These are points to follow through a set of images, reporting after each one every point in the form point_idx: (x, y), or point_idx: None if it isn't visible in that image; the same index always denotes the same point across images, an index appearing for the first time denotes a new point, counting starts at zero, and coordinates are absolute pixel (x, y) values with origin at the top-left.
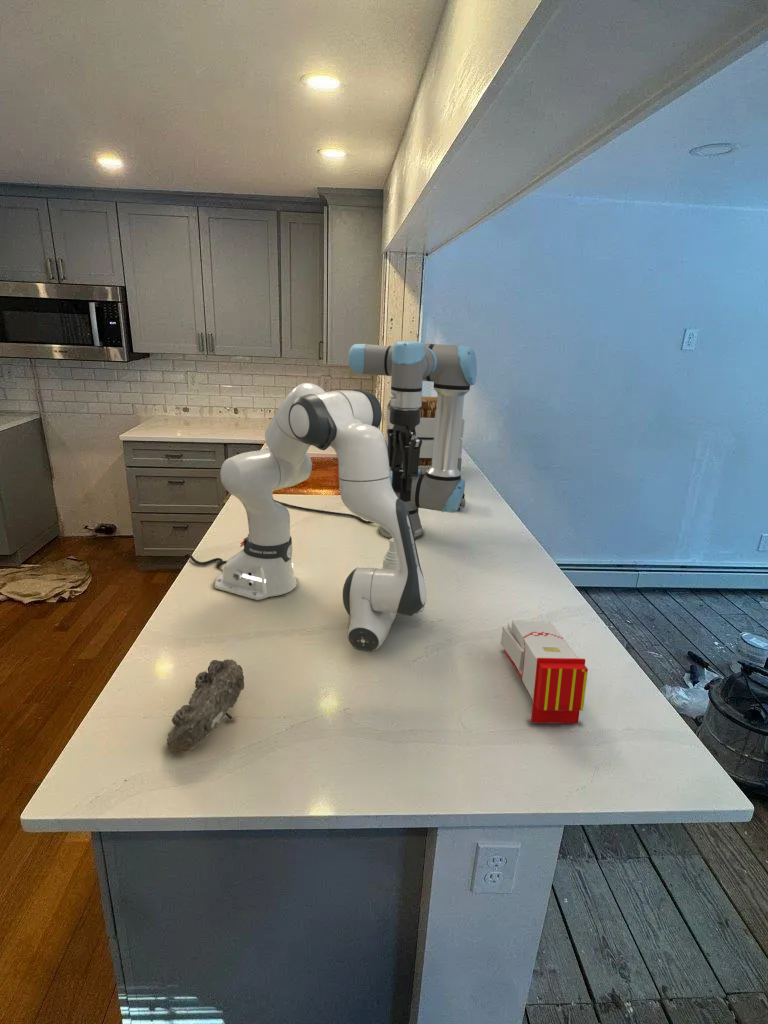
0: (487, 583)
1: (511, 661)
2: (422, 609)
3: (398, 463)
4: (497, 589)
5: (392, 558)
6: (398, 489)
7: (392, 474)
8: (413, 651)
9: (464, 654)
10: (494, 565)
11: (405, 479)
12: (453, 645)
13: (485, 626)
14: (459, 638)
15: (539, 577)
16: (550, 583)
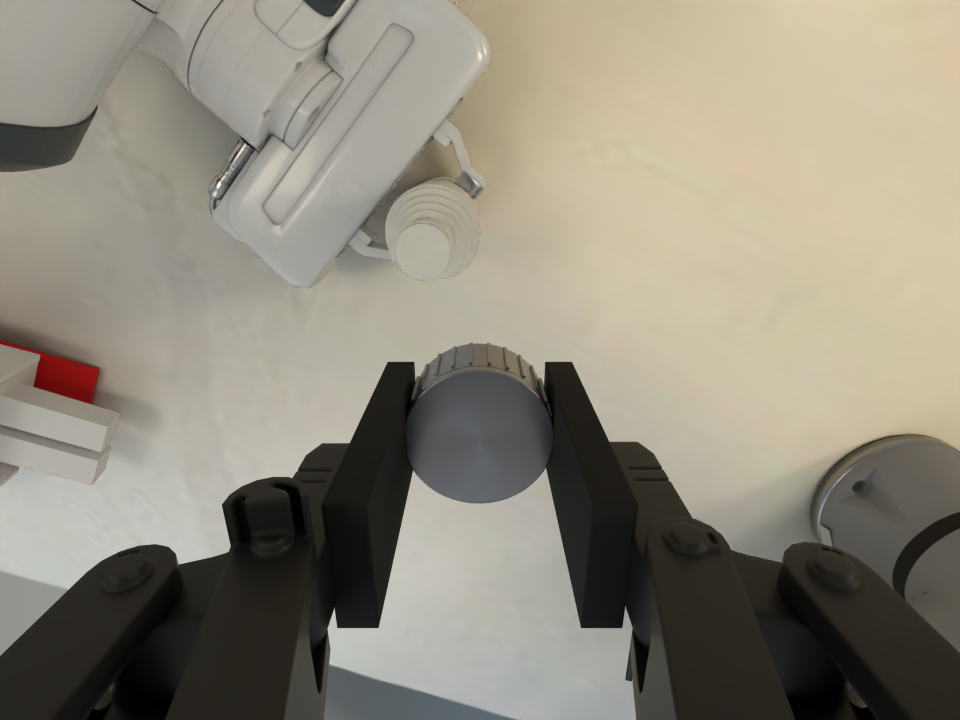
0: (444, 533)
1: (9, 345)
2: (216, 221)
3: (651, 702)
4: (403, 536)
5: (400, 215)
6: (522, 435)
7: (622, 483)
8: (151, 128)
9: (107, 264)
10: (529, 605)
11: (312, 521)
12: (158, 262)
13: (231, 398)
14: (189, 298)
15: (420, 654)
16: (382, 656)
